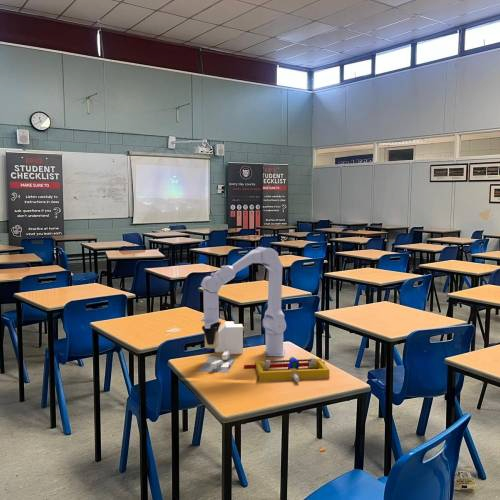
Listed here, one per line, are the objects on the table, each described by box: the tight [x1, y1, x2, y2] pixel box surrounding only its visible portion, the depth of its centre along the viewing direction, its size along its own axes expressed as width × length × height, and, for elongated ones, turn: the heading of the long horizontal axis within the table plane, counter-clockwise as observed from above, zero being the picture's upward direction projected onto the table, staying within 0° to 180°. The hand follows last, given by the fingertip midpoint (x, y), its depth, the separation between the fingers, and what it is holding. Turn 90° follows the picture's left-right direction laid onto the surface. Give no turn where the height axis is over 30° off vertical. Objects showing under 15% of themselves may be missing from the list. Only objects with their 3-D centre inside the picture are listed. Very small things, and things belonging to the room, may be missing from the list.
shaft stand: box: [197, 350, 237, 374], centre depth 192 cm, size 19×11×4 cm, turn 172°
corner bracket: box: [214, 321, 244, 355], centre depth 211 cm, size 11×11×12 cm
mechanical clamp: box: [243, 356, 330, 383], centre depth 182 cm, size 18×6×30 cm
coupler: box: [204, 330, 219, 349], centre depth 196 cm, size 4×4×6 cm
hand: (211, 342), depth 196 cm, fingers closed on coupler, 4 cm apart
